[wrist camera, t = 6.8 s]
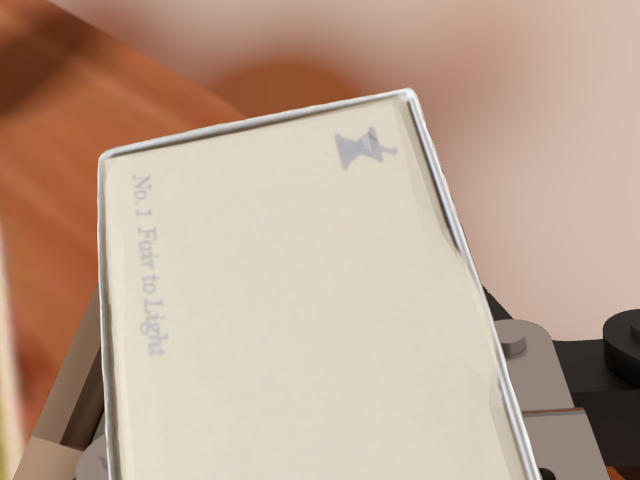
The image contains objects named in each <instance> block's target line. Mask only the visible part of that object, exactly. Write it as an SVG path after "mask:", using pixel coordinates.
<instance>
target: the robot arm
mask: <svg viewBox="0 0 640 480" xmlns="http://www.w3.org/2000/svg"><path fill="white" fill-rule="evenodd" d="M482 287H483V290H484V293H485V296H486V299H487V301H488V304H489V307H490V310H491V313H492V316H493V319H494V322H495V325H496V329H497V332H498V335H499V339H500V342H501V345H502V349H503V352H504V355H505V359H506V362H507V365H508V369H509V372H510V375H511V378H512V382H513V385H514V388H515V392H516V395H517V398H518V402H519V405H520V408H521V411H522V415H523V418H524V421H525V425H526V428H527V432H528V435H529V439H530V442H531V445H532V449H533V452H534V455H535V458H536V461H537V464H538V467H539V470H540V473H541V476H542V480H610V478H609V475H608V473H607V470H606V467H605V466H613V468H614V469H615V470H616V471H617V472H618V473H619V474H620V475H621V476H622V477H623V478H625V479H626V480H640V309H635V310H628V311H624V312H621V313H618V314H616V315H614V316H612V317H611V318H609V319H608V320H607V321H606V322H605V324H604V326H603V339H598V340H583V341H555V340H552V339H551V337H550V335H549V333H548V332H547V331H546V330H545V329H544V328H542V327H541V326H539V325H537V324H534V323H532V322H528V321H523V320H514V319H513V318H512V317H511V316H510V315H509V314H508V313H507V312H506V310H505V309H504V308H503V307H502V306H501V305H500V304H499V303H498V302H497V301H496V299H495V298H494V297H493V296H492V295H491V294H490V293H488V292H487V290H486V289H485V287H484V286H483V285H482ZM72 480H109V475H108V459H107V441H106V433H105V434H104V435H102V436H100V437H99V438H98V439H96V440H95V441H94V442H93V443H92V444H91V445H90V446H89V447H88V448H87V449H86V450H85V451H84V452H83V454H82V455H81V457H80V458H79V460H78V463H77V466H76V478H74V479H72Z"/></svg>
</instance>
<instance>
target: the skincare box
mask: <svg viewBox="0 0 640 480" xmlns="http://www.w3.org/2000/svg"><path fill="white" fill-rule="evenodd" d="M97 203H98V230H97V239H98V260H99V296H100V324H101V353H102V374H103V383H104V402H105V433H106V441H107V459H108V475H109V480H542V476H541V473H540V470H539V467H538V464H537V461H536V458H535V455H534V452H533V449H532V445H531V442H530V439H529V435H528V432H527V428H526V425H525V421H524V418H523V415H522V411H521V408H520V405H519V402H518V398H517V395H516V392H515V388H514V385H513V382H512V378H511V375H510V372H509V369H508V365H507V362H506V359H505V355H504V352H503V349H502V345H501V342H500V339H499V335H498V332H497V329H496V325H495V322H494V319H493V316H492V313H491V310H490V307H489V304H488V301H487V299H486V296H485V293H484V290H483V287H482V284H481V281H480V278H479V275H478V272H477V270H476V266H475V264H474V261H473V258H472V255H471V252H470V249H469V246H468V242H467V239H466V236H465V233H464V230H463V227H462V224H461V221H460V219H459V216H458V213H457V210H456V208H455V205H454V202H453V199H452V196H451V193H450V190H449V187H448V184H447V181H446V178H445V175H444V172H443V169H442V166H441V163H440V160H439V158H438V155H437V152H436V149H435V146H434V142H433V139H432V137H431V135H430V132H429V130H428V127H427V124H426V120H425V117H424V115H423V111H422V108H421V105H420V101H419V99H418V97H417V94H416V92H415V91H414V90H412V89H411V88H405V89H400V90H395V91H391V92H386V93H382V94H377V95H371V96H365V97H358V98H353V99H348V100H343V101H337V102H332V103H328V104H323V105H316V106H310V107H307V108H302V109H294V110H289V111H285V112H280V113H275V114H271V115H266V116H261V117H256V118H250V119H246V120H241V121H236V122H231V123H224V124H217V125H213V126H209V127H205V128H200V129H196V130H192V131H188V132H183V133H178V134H174V135H169V136H165V137H160V138H156V139H151V140H147V141H142V142H138V143H134V144H130V145H125V146H119V147H115V148H112V149H109V150H107V151H105V152H104V153H103V154H101V156H100V158H99V163H98V199H97Z"/></svg>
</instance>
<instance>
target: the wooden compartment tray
mask: <svg viewBox="0 0 640 480" xmlns="http://www.w3.org/2000/svg"><path fill="white" fill-rule="evenodd" d="M104 405H105V402H104V383H103V374H102V353H101V324H100V296H99V281H98V283H97V286H96V288H95V290H94V293H93V295H92V297H91V300H90V302H89V304H88V306H87V309H86V311H85V313H84V316H83V318H82V320H81V323H80V325H79V327H78V330H77V332H76V334H75V336H74V339H73V341H72V343H71V346H70V348H69V350H68V353H67V355H66V357H65V360H64V362H63V364H62V366H61V369H60V371H59V373H58V376H57V378H56V380H55V383H54V385H53V387H52V390H51V392H50V394H49V397H48V399H47V401H46V403H45V406H44V408H43V410H42V413H41V415H40V417H39V420H38V422H37V424H36V427H35V429H34V431H33V433H32V436H31V438H30V440H29V443H28V445H27V447H26V450H25V452H24V454H23V457H22V459H21V461H20V463H19V466H18V468H17V470H16V473H15V475H14V477H13V480H72V479H74V478H76V466H77V463H78V460H79V458H80V457H81V455H82V454H83V452H84V451H85V450H86V449H87V448H88V447H89V443H90V441H91V438H92V436H93V433H94V430H95V428H96V425H97V423H98V420H99V418H100V415H101V413H102V410H103V408H104ZM104 434H105V410H104V413H103V415H102V418H101V420H100V423H99V425H98V428H97V430H96V433H95V436H94V438H93V441H92V443H93V442H94V441H95V440H96V439H98V438H99V437H100V436H102V435H104Z"/></svg>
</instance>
